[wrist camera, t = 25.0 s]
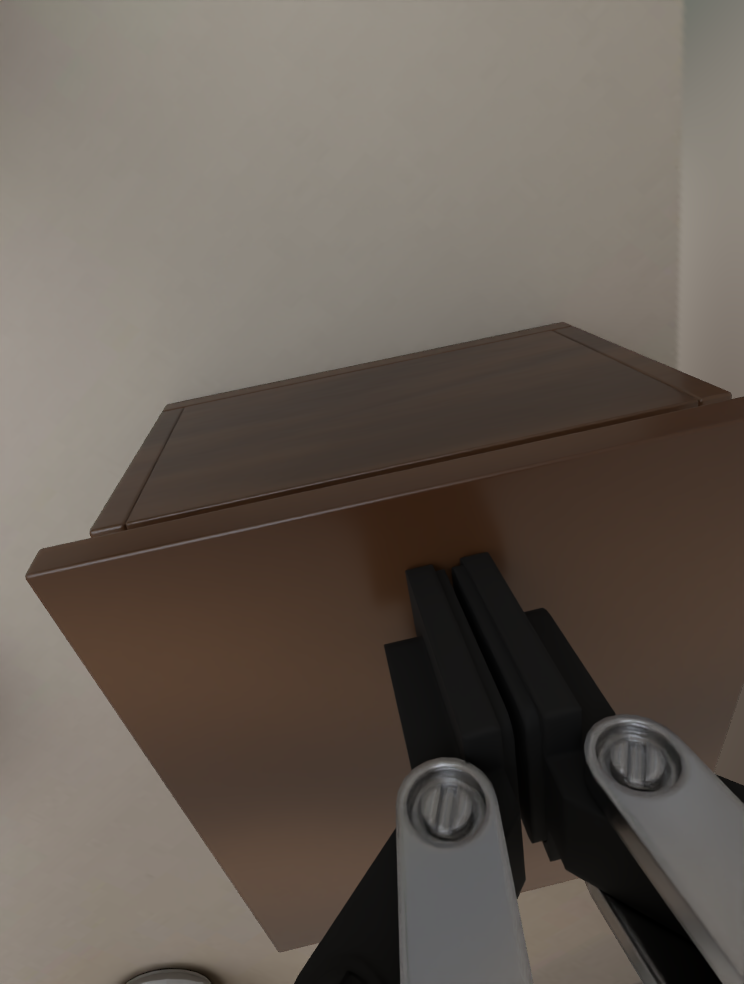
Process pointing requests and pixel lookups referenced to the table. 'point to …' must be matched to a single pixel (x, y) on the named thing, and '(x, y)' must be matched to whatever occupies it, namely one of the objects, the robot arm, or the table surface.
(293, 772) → the chest lid
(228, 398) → the chest
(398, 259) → the table surface
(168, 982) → the can
